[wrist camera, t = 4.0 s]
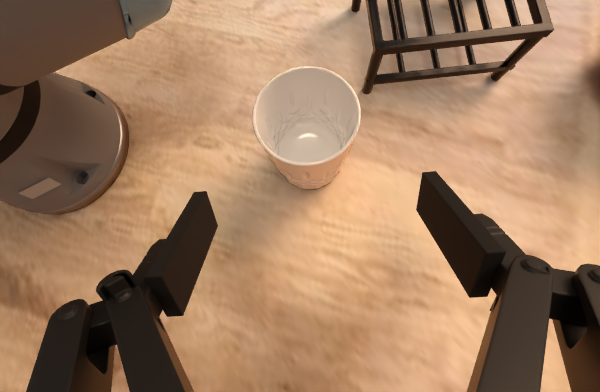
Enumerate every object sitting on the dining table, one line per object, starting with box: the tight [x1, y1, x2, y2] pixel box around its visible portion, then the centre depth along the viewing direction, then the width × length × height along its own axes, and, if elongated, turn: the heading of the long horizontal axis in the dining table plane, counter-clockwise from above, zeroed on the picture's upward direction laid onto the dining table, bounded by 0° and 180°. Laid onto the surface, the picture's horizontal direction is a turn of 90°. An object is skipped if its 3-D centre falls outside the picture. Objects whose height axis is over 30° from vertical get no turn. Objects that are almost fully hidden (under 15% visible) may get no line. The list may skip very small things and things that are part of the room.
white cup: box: [252, 66, 361, 189], centre depth 25 cm, size 8×8×10 cm
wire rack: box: [351, 0, 554, 94], centre depth 28 cm, size 15×12×7 cm
